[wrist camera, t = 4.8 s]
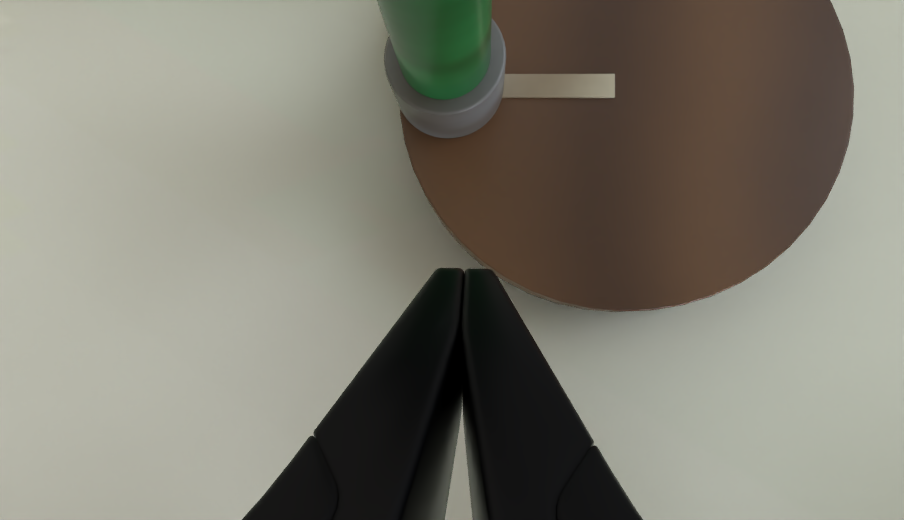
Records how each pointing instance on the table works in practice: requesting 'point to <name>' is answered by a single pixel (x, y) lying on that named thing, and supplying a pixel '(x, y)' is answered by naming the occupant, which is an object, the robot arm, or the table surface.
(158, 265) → the table surface
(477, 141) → the disc
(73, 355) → the table surface
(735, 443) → the table surface
